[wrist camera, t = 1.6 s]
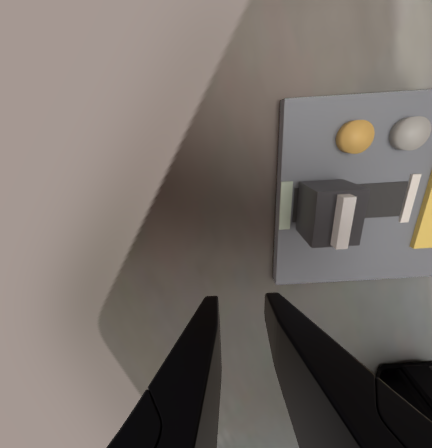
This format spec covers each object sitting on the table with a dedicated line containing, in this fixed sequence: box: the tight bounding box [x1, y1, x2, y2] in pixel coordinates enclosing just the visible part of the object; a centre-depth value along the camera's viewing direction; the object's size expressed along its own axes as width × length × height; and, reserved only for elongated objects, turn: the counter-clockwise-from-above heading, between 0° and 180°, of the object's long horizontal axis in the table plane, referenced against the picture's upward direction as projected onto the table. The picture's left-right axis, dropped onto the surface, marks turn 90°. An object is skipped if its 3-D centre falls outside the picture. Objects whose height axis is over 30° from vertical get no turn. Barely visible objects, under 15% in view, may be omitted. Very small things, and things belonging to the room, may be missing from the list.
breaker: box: [296, 179, 371, 250], centre depth 15 cm, size 4×3×4 cm
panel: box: [273, 89, 432, 285], centre depth 17 cm, size 14×19×2 cm
